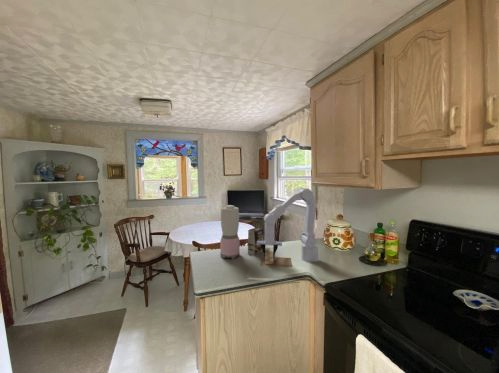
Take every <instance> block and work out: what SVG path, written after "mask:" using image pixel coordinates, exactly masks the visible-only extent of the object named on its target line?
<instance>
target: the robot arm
mask: <svg viewBox="0 0 499 373" xmlns="http://www.w3.org/2000/svg"><path fill="white" fill-rule="evenodd" d="M296 201H303V202H305V204H306V206H305V218H304V227H303V228H304V229H303V230H302V232H301V235H300V237H299V239H300V242H301V260H302V261H304V262H319V248H318V246H316V245H317V240H316V234H315V232H314V228H315V220H316V217H315V216H316V208H317V200H316V197H315V195H314V192H313V191H312V190H311V189H309V188H304V187H298V188H297V189H296V190H294V191H293V193H292V194H291V195H290V196H289V197H287V198H286V200H284V202H283V203H281V204H277V205H275V206H274V208H273V209H272V210H270V211H269V212H268V213H266V214H265V215H264V216H263V220H264V240H263V241H257V245H261V248H262V250H263V251H262V252H263V257H264V258H265V249H266V246H273V247H272V248H273V258H274V257H276V252H277V250H278V247H279V246H280V247H282V246H283V241H277V240H275V224H276V222H277V220H278V219H279V218H280V217H281V216H283V214H285V212H286V209H288V207H290V206H291V205H293V203H295V202H296Z"/></svg>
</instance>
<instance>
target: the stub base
mask: <svg viewBox="0 0 499 373" xmlns="http://www.w3.org/2000/svg"><path fill="white" fill-rule="evenodd" d="M291 258H292V257H285V256H284V257H282V256H281V257H280V256H279V257H278V256H274V258H273V264H265V258H264V255H263V256H260V262H259V263H260V264H259V266H262V267H279V268H284V267H285V268H293V263H292V259H291Z"/></svg>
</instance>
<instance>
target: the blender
mask: <svg viewBox="0 0 499 373" xmlns="http://www.w3.org/2000/svg"><path fill="white" fill-rule="evenodd" d="M239 209H240V208H239V207H236V206H235V205H232V204H228V205H225V206H224V207H221V209H220V226H221V232H222V234H221V238H220V243H219V244H220V245H219V246H220V248H219V249H220V250H219V251H220V257H221V258H222V259H223V260H224V259H226V258H231V260H235V259H236V257H239V256H240V253H241V252H240V237H239V235H238V234H239V233H238V232H239V227H240V210H239Z"/></svg>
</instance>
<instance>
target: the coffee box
mask: <svg viewBox="0 0 499 373" xmlns="http://www.w3.org/2000/svg"><path fill="white" fill-rule="evenodd" d="M247 232H248V233H247V254H248V255H250V256H252V255H255V256H256V255H259V254H260V253H262V252H263V250H262V248H261V245H257V241H264V228H262V227H254V228H249V229H248V230H247Z"/></svg>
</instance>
